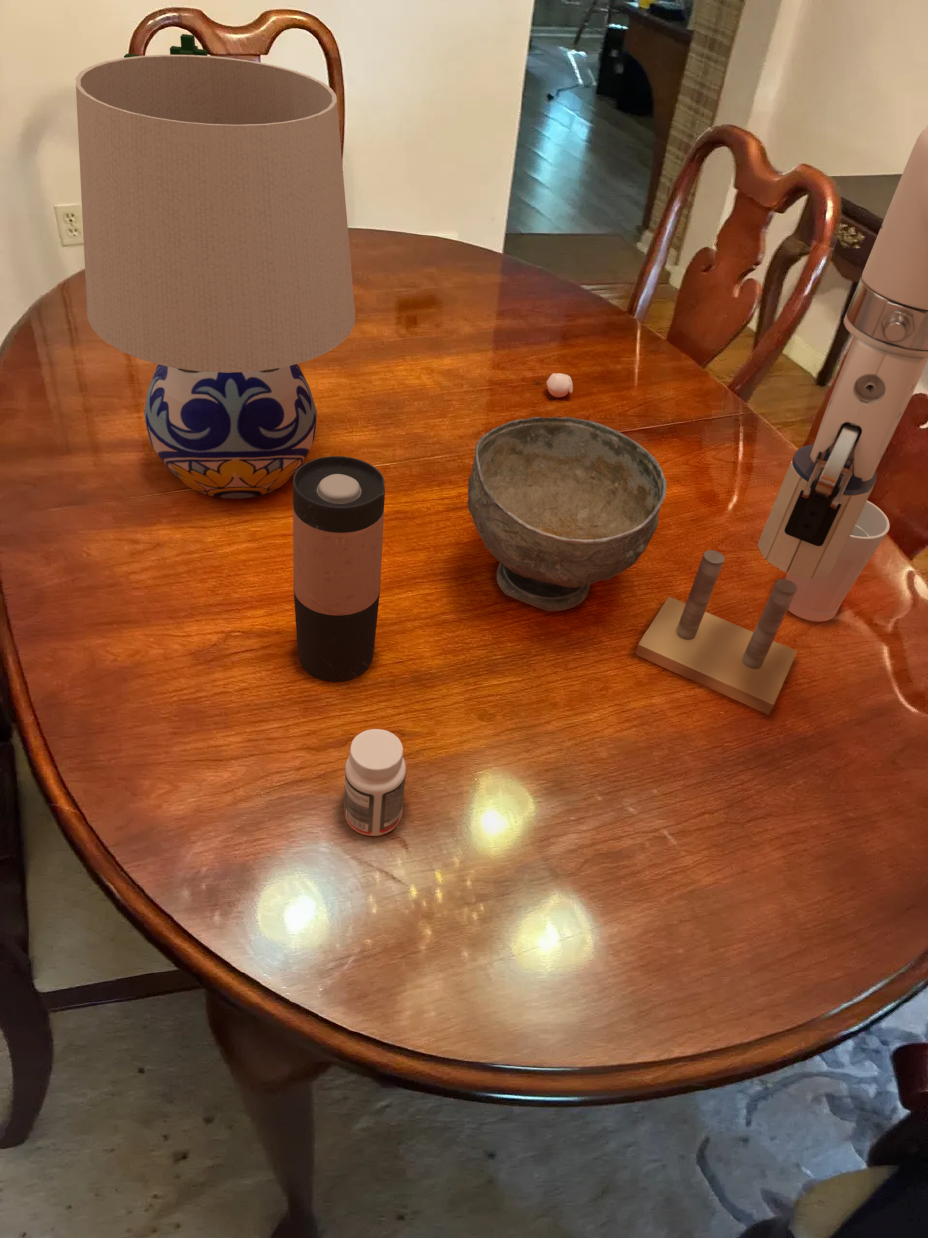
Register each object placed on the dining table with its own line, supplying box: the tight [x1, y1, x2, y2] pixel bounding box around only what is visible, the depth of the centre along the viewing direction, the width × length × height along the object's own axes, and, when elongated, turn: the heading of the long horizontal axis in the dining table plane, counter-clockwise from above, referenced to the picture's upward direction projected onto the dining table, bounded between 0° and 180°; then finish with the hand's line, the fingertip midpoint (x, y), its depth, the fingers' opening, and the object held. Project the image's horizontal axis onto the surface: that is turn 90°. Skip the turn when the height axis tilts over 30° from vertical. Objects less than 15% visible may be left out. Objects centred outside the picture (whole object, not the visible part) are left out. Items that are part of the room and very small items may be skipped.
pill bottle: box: [343, 728, 407, 837], centre depth 73 cm, size 5×5×8 cm
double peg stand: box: [634, 549, 798, 716], centre depth 90 cm, size 14×9×12 cm, turn 60°
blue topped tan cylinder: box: [757, 444, 877, 578], centre depth 78 cm, size 7×7×9 cm
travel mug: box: [292, 455, 386, 683], centre depth 81 cm, size 8×8×20 cm
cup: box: [784, 500, 891, 623], centre depth 98 cm, size 8×8×12 cm
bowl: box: [466, 416, 668, 612], centre depth 94 cm, size 20×19×15 cm
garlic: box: [546, 372, 574, 398], centre depth 129 cm, size 5×3×5 cm
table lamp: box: [75, 54, 356, 500], centre depth 96 cm, size 27×27×40 cm
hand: (814, 514), depth 78 cm, fingers closed on blue topped tan cylinder, 7 cm apart
